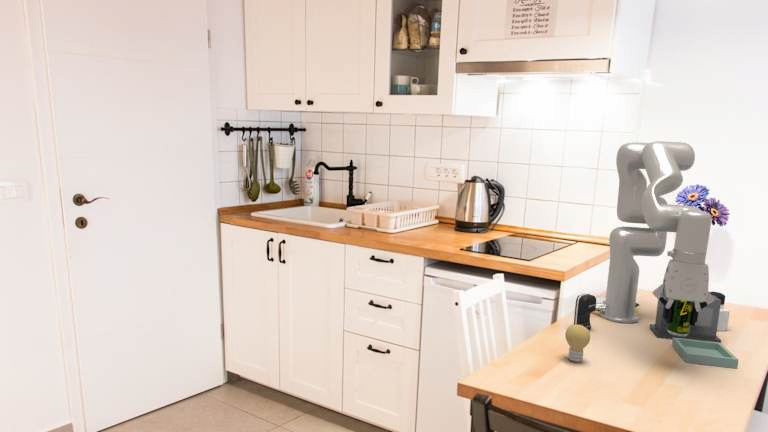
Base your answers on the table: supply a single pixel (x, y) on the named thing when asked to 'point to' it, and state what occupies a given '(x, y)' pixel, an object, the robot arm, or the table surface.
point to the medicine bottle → (721, 312)
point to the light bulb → (577, 341)
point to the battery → (584, 310)
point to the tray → (704, 353)
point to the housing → (701, 331)
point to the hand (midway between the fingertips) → (679, 322)
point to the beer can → (680, 317)
